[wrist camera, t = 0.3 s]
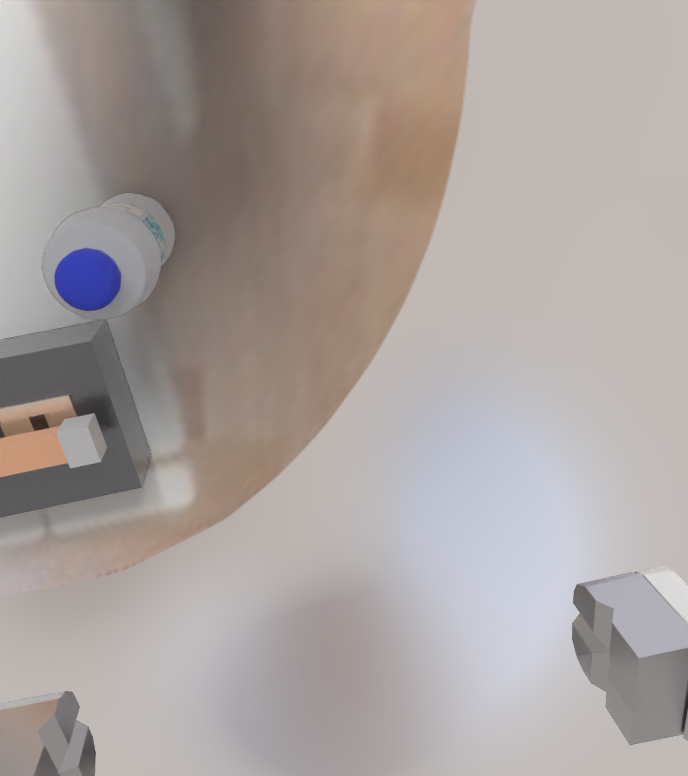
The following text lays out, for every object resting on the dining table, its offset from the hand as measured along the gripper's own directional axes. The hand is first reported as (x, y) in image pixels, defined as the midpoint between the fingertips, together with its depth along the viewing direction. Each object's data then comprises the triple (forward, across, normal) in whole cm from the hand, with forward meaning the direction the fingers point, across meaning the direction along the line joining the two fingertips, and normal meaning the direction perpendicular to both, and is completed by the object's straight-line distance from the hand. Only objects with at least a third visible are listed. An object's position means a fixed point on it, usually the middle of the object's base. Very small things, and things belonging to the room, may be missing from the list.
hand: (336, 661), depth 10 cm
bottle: (+47, +10, -2) cm, 48 cm away
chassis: (+47, +25, +13) cm, 55 cm away
